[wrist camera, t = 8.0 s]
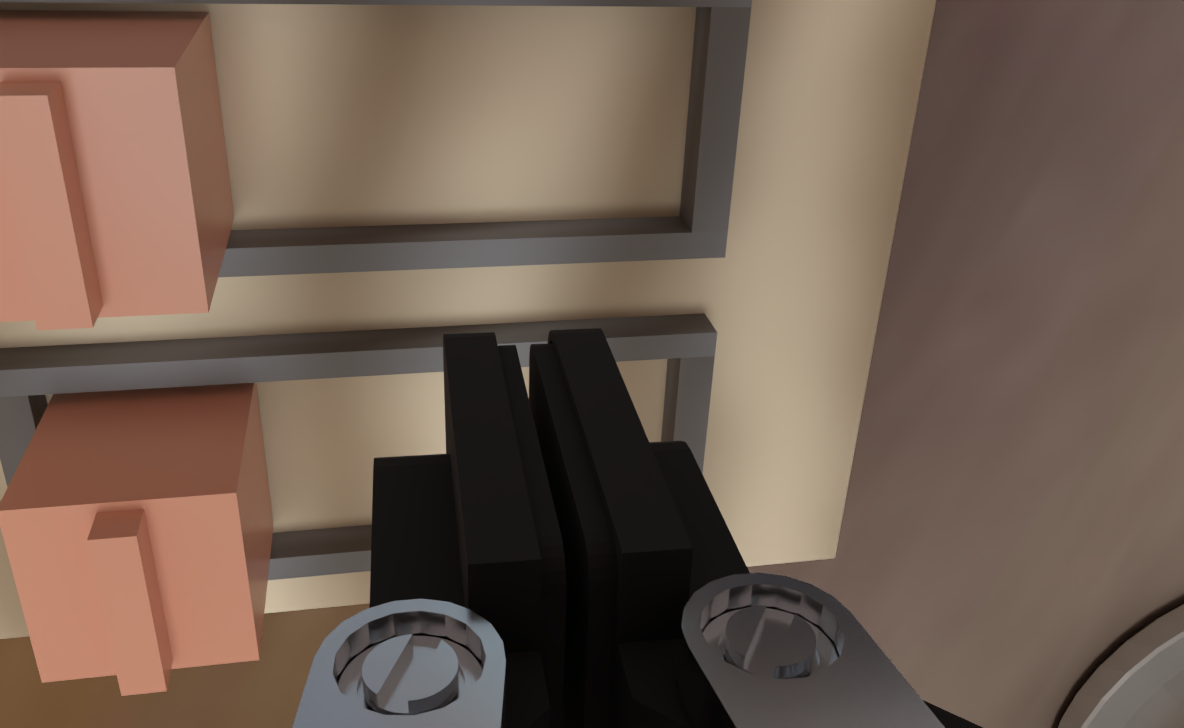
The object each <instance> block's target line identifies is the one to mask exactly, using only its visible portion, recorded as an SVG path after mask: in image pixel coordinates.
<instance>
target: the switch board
mask: <svg viewBox="0 0 1184 728" xmlns="http://www.w3.org/2000/svg"><path fill="white" fill-rule="evenodd" d="M935 5H936V0H0V11H130V12H209V16H210V24H211V32H212V40H213V49H214V57H215V65H216V73H217V81H218V90H219V98H220V106H221V114H222V122H223V130H224V139H225V147H226V155H227V163H228V171H229V179H230V188H231V196H232V204H233V212H234V221H233V224H232V228H231V232H230V235H229V239H228V243H227V247H226V250H225V254H224V258H223V261H222V265H221V269H220V273H219V276H218V280H217V284H216V287H215V291H214V295H213V299H212V302H211V306H210V310H209V313H190V314H168V315H146V316H124V317H101V318H97V320H96V322H95V325H94V327H93V328H77V329H55V330H37V327H36V322H35V321H13V322H0V502H1V500H2V498H3V496H4V494H5V492H6V490H7V488H8V486H9V484H10V482H11V480H12V478H13V476H14V473H15V471H16V469H17V467H18V465H19V463H20V461H21V459H22V457H23V455H24V453H25V451H26V449H27V447H28V445H29V443H30V441H31V439H32V437H33V435H34V433H35V430H36V428H37V426H38V424H39V422H40V420H41V418H42V416H43V414H44V412H45V410H46V408H47V406H48V404H49V402H50V400H51V398H52V396H53V394H63V393H81V392H98V391H116V390H133V389H150V388H168V387H185V386H203V385H220V384H237V383H255V382H256V385H257V393H258V401H259V409H260V418H261V426H262V434H263V442H264V451H265V459H266V467H267V475H268V484H269V492H270V500H271V508H272V516H273V535H272V544H271V554H270V563H269V573H268V583H267V592H266V602H265V611H264V613H274V612H284V611H294V610H305V609H315V608H325V607H336V606H346V605H356V604H367V603H370V574H371V536H372V498H373V464H374V458H379V457H397V456H414V455H432V454H446V433H445V399H444V366H443V334H461V333H488V332H495V335H496V340H497V345H498V346H499V345H516V348H517V352H518V357H519V361H520V365H521V369H522V373H523V377H524V382H525V386H526V390H527V394H528V398H529V353H530V346H531V344H548V335H549V332H550V330H567V329H593V328H601V329H602V331H603V332H604V335H605V337H606V340H607V342H608V344H609V347H610V349H611V352H612V354H613V356H614V359H615V361H616V364H617V366H618V368H619V371H620V373H621V376H622V378H623V380H624V383H625V385H626V388H627V390H628V392H629V395H630V397H631V400H632V402H633V404H634V407H635V409H636V412H637V414H638V416H639V419H640V421H641V424H642V426H643V428H644V431H645V433H646V436H647V438H648V440H649V442H665V441H684V442H686V443H687V445H688V446H689V448H690V449H691V451H692V453H693V455H694V458H695V460H696V462H697V464H698V466H699V468H700V470H701V472H702V474H703V476H704V478H705V481H706V483H707V485H708V487H709V489H710V491H711V493H712V495H713V497H714V499H715V501H716V504H717V506H718V508H719V510H720V512H721V514H722V516H723V518H724V520H725V522H726V525H727V527H728V529H729V531H730V533H731V535H732V537H733V539H734V541H735V543H736V545H737V548H738V550H739V552H740V554H741V556H742V558H743V560H744V562H745V564H746V566H747V567H749V566H759V565H769V564H780V563H790V562H800V561H811V560H821V559H831V558H835V555H836V550H837V544H838V539H839V533H840V528H841V522H842V517H843V511H844V506H845V500H846V495H847V489H848V484H849V478H850V473H851V467H852V462H853V456H854V450H855V445H856V439H857V434H858V428H859V423H860V417H861V412H862V406H863V401H864V395H865V390H866V384H867V379H868V373H869V368H870V362H871V357H872V351H873V346H874V340H875V335H876V329H877V324H878V318H879V313H880V307H881V302H882V296H883V291H884V285H885V280H886V274H887V269H888V263H889V258H890V252H891V247H892V241H893V236H894V230H895V225H896V219H897V214H898V208H899V203H900V197H901V192H902V186H903V181H904V175H905V170H906V164H907V159H908V153H909V148H910V142H911V137H912V131H913V126H914V120H915V115H916V109H917V104H918V98H919V93H920V87H921V82H922V76H923V71H924V65H925V60H926V54H927V49H928V43H929V38H930V32H931V27H932V21H933V16H934V10H935ZM26 636H29V632H28V628H27V625H26V621H25V617H24V613H23V610H22V606H21V602H20V599H19V595H18V591H17V587H16V584H15V580H14V576H13V572H12V569H11V565H10V561H9V557H8V554H7V550H6V546H5V542H4V539H3V535H2V531H1V528H0V639H5V638H15V637H26Z"/></svg>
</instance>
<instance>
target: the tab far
mask: <svg viewBox="0 0 1184 728" xmlns="http://www.w3.org/2000/svg"><path fill="white" fill-rule="evenodd" d="M0 528H1V531H2V535H3V539H4V542H5V546H6V550H7V554H8V557H9V561H10V565H11V569H12V572H13V576H14V580H15V584H16V587H17V591H18V595H19V599H20V602H21V606H22V610H23V613H24V617H25V621H26V625H27V628H28V632H29V636H30V640H31V643H32V647H33V651H34V655H35V658H36V662H37V666H38V669H39V673H40V677H41V681H42V683H43V682H53V681H62V680H72V679H81V678H91V677H100V676H110V675H117V678H118V682H119V686H120V691H121V695H122V696H125V695H134V694H144V693H153V692H162V691H167V688H168V683H169V678H170V673H171V669H177V668H186V667H196V666H206V665H215V664H225V663H234V662H244V661H253V660H259V659H260V650H261V640H262V631H263V621H264V611H265V602H266V592H267V583H268V573H269V563H270V554H271V544H272V535H273V516H272V508H271V500H270V492H269V484H268V475H267V467H266V459H265V451H264V442H263V434H262V426H261V418H260V409H259V401H258V393H257V385H256V382H255V383H237V384H220V385H203V386H185V387H168V388H150V389H133V390H116V391H98V392H81V393H63V394H53V396H52V398H51V400H50V402H49V404H48V406H47V408H46V410H45V412H44V414H43V416H42V418H41V420H40V422H39V424H38V426H37V428H36V430H35V433H34V435H33V437H32V439H31V441H30V443H29V445H28V447H27V449H26V451H25V453H24V455H23V457H22V459H21V461H20V463H19V465H18V467H17V469H16V471H15V473H14V476H13V478H12V480H11V482H10V484H9V486H8V488H7V490H6V492H5V494H4V496H3V498H2V500H1V502H0Z"/></svg>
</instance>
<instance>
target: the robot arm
mask: <svg viewBox="0 0 1184 728" xmlns="http://www.w3.org/2000/svg"><path fill="white" fill-rule="evenodd" d="M443 366H444V399H445V433H446V454H432V455H414V456H397V457H379V458H374V464H373V498H372V536H371V574H370V608H368V609H365V610H363V611H362V612H360V613H358V614H356V615H354V616H352V617H350V618H349V619H347V620H345V621H343V622H342V623H341V624H340V625H339V626H338V627H336V628H335V629H334V630H333V631H332V632H331V633H330V634H329V635H328V636H327V637H326V638H325V639H324V640H323V642H322V644H321V646H320V648H319V650H318V651H317V653H316V655H315V657H314V659H313V662H312V665H311V669H310V672H309V675H308V678H307V682H306V685H305V688H304V691H303V694H302V698H301V701H300V704H299V707H298V711H297V714H296V717H295V720H294V723H293V727H292V728H982V727H980V726H978V725H976V724H974V723H971V722H969V721H967V720H965V719H963V718H961V717H958V716H956V715H954V714H952V713H950V712H947V711H945V710H943V709H941V708H939V707H936V706H934V705H932V704H930V703H928V702H926V701H923V700H922V699H921V698H920V696H919V695H918V694H917V693H916V691H915V690H914V689H913V688H912V687H911V685H910V684H909V683H908V682H907V680H906V679H905V678H904V677H903V676H902V674H901V673H900V672H899V671H898V669H897V668H896V667H895V666H894V665H893V663H892V662H891V661H890V660H889V658H888V657H887V656H886V655H885V654H884V652H883V651H882V650H881V649H880V647H879V646H878V645H877V644H876V643H875V641H874V640H873V639H872V638H871V636H870V635H869V634H868V633H867V631H866V630H865V629H864V628H863V627H862V625H861V624H860V623H859V622H858V620H857V619H856V618H855V617H854V616H853V614H852V613H851V612H850V611H849V610H848V609H847V608H845V607H844V606H843V605H842V604H841V603H840V602H839V601H838V600H837V599H836V598H835V597H833V596H832V595H830V594H828V593H826V592H824V591H823V590H821V589H819V588H817V587H815V586H814V585H812V584H809V583H806V582H803V581H800V580H797V579H794V578H790V577H787V576H782V575H774V574H766V573H749V571H748V568H747V566H746V564H745V562H744V560H743V558H742V556H741V554H740V552H739V550H738V548H737V545H736V543H735V541H734V539H733V537H732V535H731V533H730V531H729V529H728V527H727V525H726V522H725V520H724V518H723V516H722V514H721V512H720V510H719V508H718V506H717V504H716V501H715V499H714V497H713V495H712V493H711V491H710V489H709V487H708V485H707V483H706V481H705V478H704V476H703V474H702V472H701V470H700V468H699V466H698V464H697V462H696V460H695V458H694V455H693V453H692V451H691V449H690V448H689V446H688V445H687V443H686V442H684V441H665V442H649V440H648V438H647V436H646V433H645V431H644V428H643V426H642V424H641V421H640V419H639V416H638V414H637V412H636V409H635V407H634V404H633V402H632V400H631V397H630V395H629V392H628V390H627V388H626V385H625V383H624V380H623V378H622V376H621V373H620V371H619V368H618V366H617V364H616V361H615V359H614V356H613V354H612V352H611V349H610V347H609V344H608V342H607V340H606V337H605V335H604V332H603V331H602V329H601V328H593V329H567V330H550V332H549V335H548V344H531V346H530V353H529V398H528V394H527V390H526V386H525V382H524V377H523V373H522V369H521V365H520V361H519V357H518V352H517V348H516V345H499V346H498V345H497V340H496V335H495V332H488V333H461V334H443ZM1058 728H1184V604H1182V605H1181V606H1179V607H1177V608H1175V609H1173V610H1172V611H1170V612H1168V613H1166V614H1165V615H1163V616H1161V617H1159V618H1157V619H1156V620H1154V621H1153V622H1152V623H1150V624H1149V625H1147V626H1146V627H1145V628H1143V629H1142V630H1141V631H1139V632H1138V633H1136V634H1135V635H1134V636H1132V637H1131V638H1130V639H1128V640H1127V641H1126V642H1124V643H1123V644H1122V645H1121V646H1120V647H1119V648H1118V649H1117V650H1116V651H1115V652H1114V653H1113V654H1112V655H1110V656H1109V657H1108V658H1107V659H1106V660H1105V661H1104V662H1103V663H1102V664H1101V665H1100V666H1099V667H1098V668H1097V669H1096V670H1095V672H1094V673H1093V674H1092V675H1091V676H1090V678H1089V679H1088V680H1087V681H1086V682H1085V684H1084V685H1083V686H1082V687H1081V688H1080V690H1079V691H1078V692H1077V694H1076V695H1075V697H1074V699H1073V700H1072V702H1071V704H1070V705H1069V707H1068V708H1067V710H1066V712H1065V713H1064V715H1063V717H1062V718H1061V721H1060V724H1059V726H1058Z"/></svg>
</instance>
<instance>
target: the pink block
mask: <svg viewBox="0 0 1184 728" xmlns="http://www.w3.org/2000/svg"><path fill="white" fill-rule="evenodd" d="M233 221H234V212H233V204H232V196H231V188H230V179H229V171H228V163H227V155H226V147H225V139H224V130H223V122H222V114H221V106H220V98H219V90H218V81H217V73H216V65H215V57H214V49H213V40H212V32H211V24H210V16H209V12H130V11H0V322H13V321H35V322H36V327H37V330H55V329H77V328H93V327H94V325H95V322H96V320H97V318H101V317H124V316H146V315H168V314H190V313H209V310H210V306H211V302H212V299H213V295H214V291H215V287H216V284H217V280H218V276H219V273H220V269H221V265H222V261H223V258H224V254H225V250H226V247H227V243H228V239H229V235H230V232H231V228H232V224H233Z"/></svg>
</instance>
